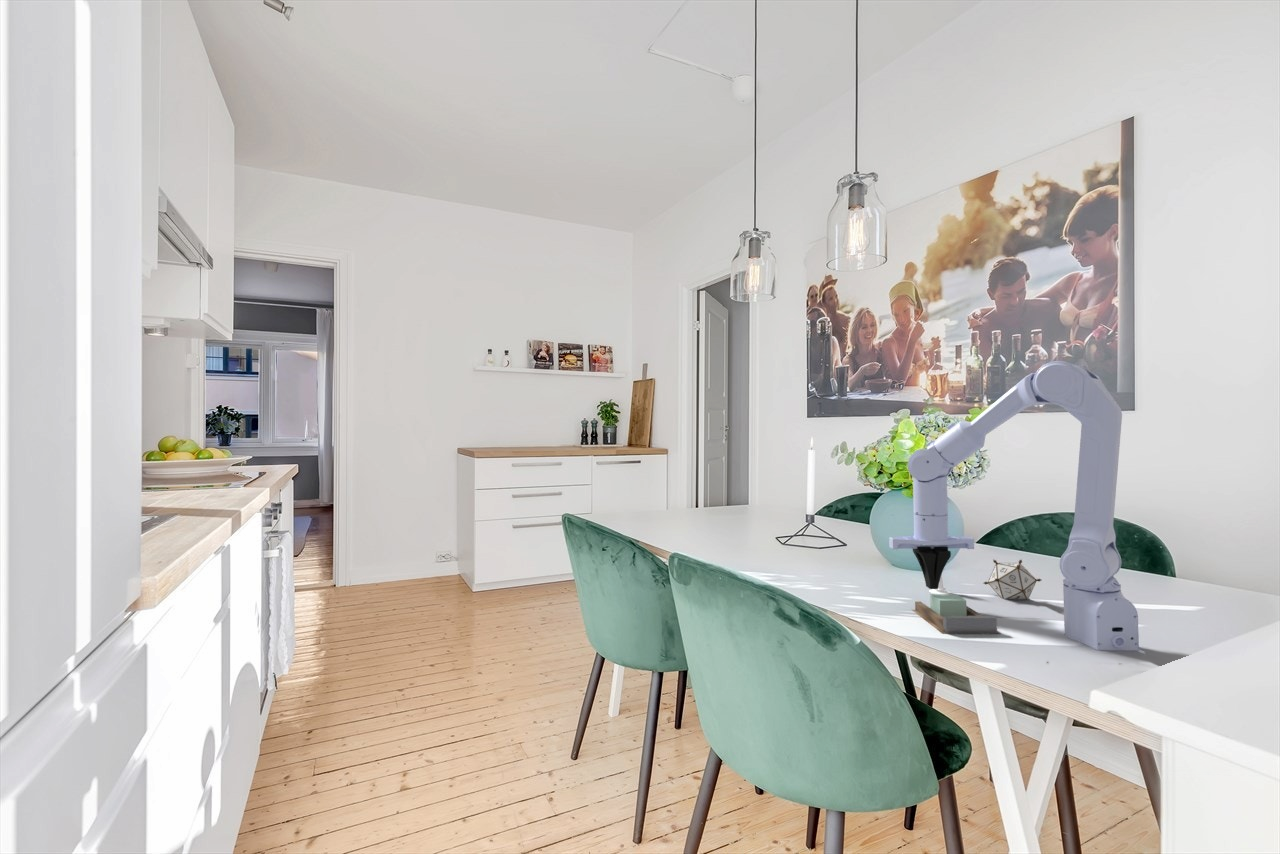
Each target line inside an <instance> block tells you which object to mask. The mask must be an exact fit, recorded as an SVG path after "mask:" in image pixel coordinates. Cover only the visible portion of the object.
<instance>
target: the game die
mask: <svg viewBox="0 0 1280 854" xmlns="http://www.w3.org/2000/svg"><path fill="white" fill-rule="evenodd" d="M992 560H993V563H994V564H995V565H994V567H993V569H992V572H991V574H990V577H989V579H988V581H984V582H983V585H989V586H990V587H991V588H992V589H993V591H994V592H995V593H996V594H997V595H998V596H999V597H1000V598H1001V600H1029V598H1030V596H1031V594H1032V592H1033V590H1034V588H1035V585H1036V583H1037V582H1041V581H1042V579H1041V578H1036V577H1035V576H1033V574H1032V573H1031V572H1029V570H1028V569H1027V568H1026V567H1024V565H1023V564H1022V563H1023V560H1022V559H1019V560H1018V562H997V559H992Z"/></svg>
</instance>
